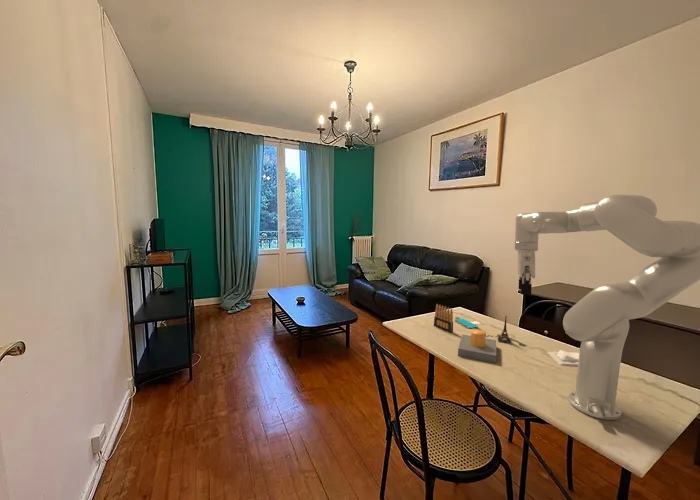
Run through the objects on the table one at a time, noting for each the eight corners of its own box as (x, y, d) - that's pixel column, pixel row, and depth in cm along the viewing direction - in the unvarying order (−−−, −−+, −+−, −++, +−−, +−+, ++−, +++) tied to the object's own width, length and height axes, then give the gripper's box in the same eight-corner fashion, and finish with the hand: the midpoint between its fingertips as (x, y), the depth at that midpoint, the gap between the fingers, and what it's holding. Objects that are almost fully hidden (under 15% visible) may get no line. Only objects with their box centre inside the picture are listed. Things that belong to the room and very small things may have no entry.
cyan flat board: (492, 330, 154) (492, 327, 154) (472, 333, 151) (472, 329, 151) (466, 317, 173) (466, 314, 173) (448, 319, 170) (448, 316, 170)
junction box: (495, 362, 120) (496, 346, 119) (457, 355, 126) (458, 340, 125) (495, 346, 135) (496, 332, 134) (461, 340, 140) (462, 326, 140)
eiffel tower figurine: (527, 347, 136) (530, 317, 134) (510, 350, 132) (512, 320, 130) (500, 334, 150) (502, 307, 148) (484, 337, 146) (485, 309, 144)
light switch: (547, 345, 129) (581, 346, 127) (547, 355, 130) (581, 356, 127) (559, 357, 119) (597, 359, 116) (559, 368, 119) (596, 369, 117)
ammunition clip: (433, 325, 158) (434, 303, 157) (436, 325, 160) (437, 302, 158) (450, 332, 150) (451, 309, 148) (453, 332, 151) (454, 308, 149)
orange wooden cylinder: (484, 348, 126) (485, 335, 126) (470, 345, 129) (471, 333, 128) (485, 342, 131) (486, 331, 131) (471, 340, 134) (471, 328, 133)
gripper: (541, 248, 105) (539, 297, 107) (534, 245, 121) (533, 288, 122) (516, 248, 108) (515, 296, 110) (513, 245, 124) (511, 287, 125)
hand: (524, 292), depth 116 cm, fingers open, 9 cm apart
